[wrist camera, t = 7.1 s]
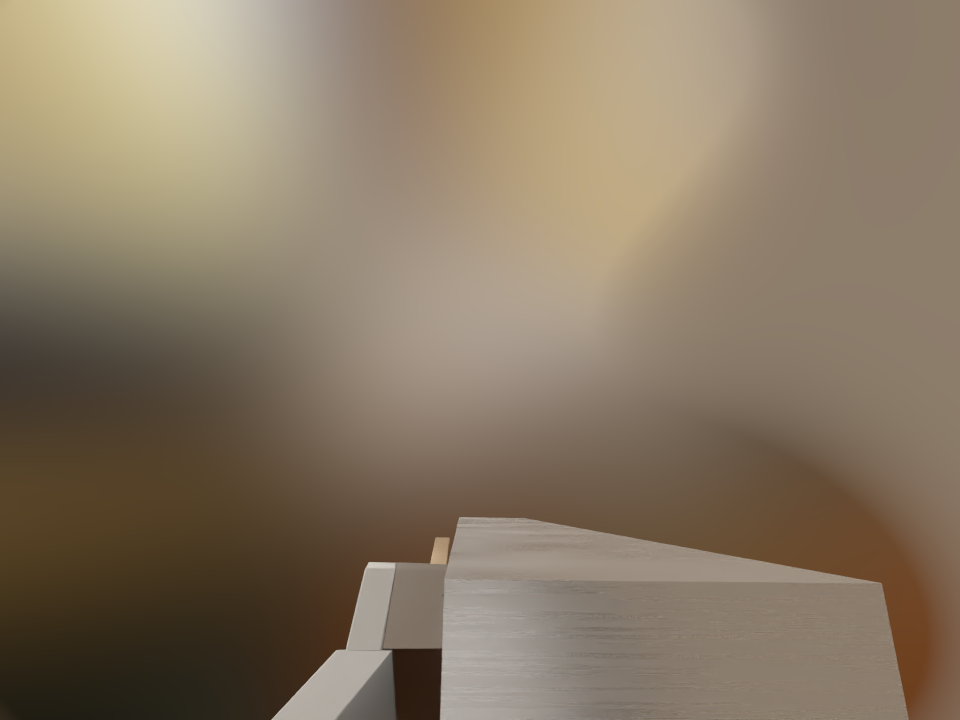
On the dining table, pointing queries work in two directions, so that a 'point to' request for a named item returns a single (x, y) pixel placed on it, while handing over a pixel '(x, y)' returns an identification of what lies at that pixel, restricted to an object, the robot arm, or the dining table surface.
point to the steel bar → (653, 632)
